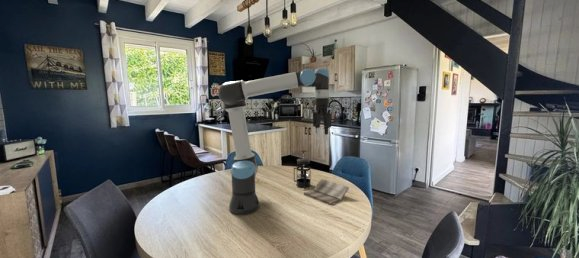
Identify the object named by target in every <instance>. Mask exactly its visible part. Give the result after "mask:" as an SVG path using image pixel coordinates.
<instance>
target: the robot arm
mask: <svg viewBox="0 0 579 258" xmlns="http://www.w3.org/2000/svg"><path fill="white" fill-rule="evenodd" d="M296 88H297V89H298V88H314V94H315V96H314V97H315V99H314V105H315V108H313V109H311V112H312V127H315V133H316V140H318V141H319V140H321V139H322V141H327V140H328V134H329V128H332V119H333V118H332V114H333V109H332V108H329V105H330V103H329V102H330V99H329V97H330V90H329V89H330V73H329V69H327V68H317V69H315V70H313V69H311V68H305V69H303V70H299V71H294V72H289V73H283V74H278V75H274V76H268V77H263V78H258V79H254V80H252V79H251V80H248V81H244V80H243V79H241V80H236V81H235V80H234V81H225V82H224V83H222V84H221V85H220V86H219V89H218V92H217V93H218V98H219V100H220V101H221V102H222V103H223V107H224V111H226V112H227V113H228V119H229V123H230V129H231V135H232V140H233V146H234V151H235V152H234V153H235V156H234V157H233V160H234V163H233V164H232V165H231V169H230V173H231V193H232V194H231V197H230V201H229V206H228V208H229V209H228V210H229V212H230V213H231V214H235V215H248V214H249V215H250V214H252V213H255V212H257V211H258V210H259V209H260V201H259V198H258V195H257V193H256V176H257V173H258V171H259V169H258V168H259V166H258V163H257V160H256V155H255V153H253V152H252V149H251V147H252V146H251V143H250V136H249V132H248V125H247V119H246V114H245V109H246V108H247V103H246V100H248V98H249V97H250V98H251V97H256V96H260V95H266V94H270V93H277V92H280V91H286V90H291V89H296ZM321 121H323V128H322V129H321ZM321 136H322V137H321Z"/></svg>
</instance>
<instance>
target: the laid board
mask: <svg viewBox="0 0 579 258" xmlns="http://www.w3.org/2000/svg"><path fill="white" fill-rule="evenodd" d="M303 195H305V196H306V197H308V198H312V199H315V200H317V201H319V202H321V203H323V204H327V205H329V206H332V205H334V204H337V203H339V202H341V201H340V199H339V198H336V197H334V196H331V195H328V194H325V193H323V192H320V191H317V190H314V188H312V189H310V190H308V191H307V190H306V191H305V192H303Z"/></svg>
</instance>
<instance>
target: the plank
mask: <svg viewBox="0 0 579 258" xmlns="http://www.w3.org/2000/svg"><path fill="white" fill-rule="evenodd" d="M313 189H314V190H317V191H320V192H323V193H325V194H328V195H331V196H334V197H336V198H339V199H340V201H339V202H341V201H342V199H343V198H344V197H345V195H346V194H347V192H348V190H349V189H350V187H349V186H346V185H342V184H340V183H337V182H335V181H334V182H333V181H329V180H327V179H324V178H321V179H320V180H319V181H318V182H317V184H316V186H315V187H314V188H313Z"/></svg>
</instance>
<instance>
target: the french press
mask: <svg viewBox="0 0 579 258" xmlns="http://www.w3.org/2000/svg"><path fill="white" fill-rule="evenodd" d="M300 152H301V153H302V156H303V157H302V158H297V159H296V161H297V162H296V163H297V165H298V166H296V167H293V182H295V183H296V187H297V188H303V189H306V188H310V187H311V186H312V185H311V183H312V182H311V177H312V176H311V174H312V173H311V166H309V164H310V162H311V159H310V158H305V157H304V156H305V152H307V150H306V149H303V150H300ZM295 170H296V171H297V172H299V171H300V174H296V175H295V173H296V171H295ZM308 171H309V174H307V172H308ZM295 176H296V177H295ZM295 178H296V180H295Z"/></svg>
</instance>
